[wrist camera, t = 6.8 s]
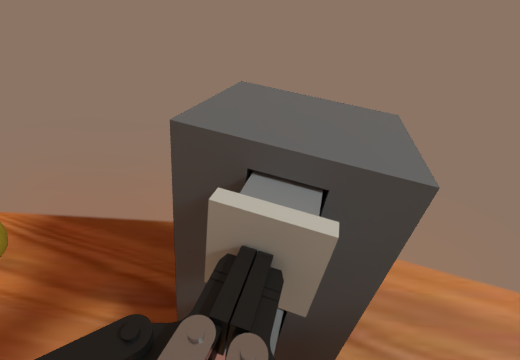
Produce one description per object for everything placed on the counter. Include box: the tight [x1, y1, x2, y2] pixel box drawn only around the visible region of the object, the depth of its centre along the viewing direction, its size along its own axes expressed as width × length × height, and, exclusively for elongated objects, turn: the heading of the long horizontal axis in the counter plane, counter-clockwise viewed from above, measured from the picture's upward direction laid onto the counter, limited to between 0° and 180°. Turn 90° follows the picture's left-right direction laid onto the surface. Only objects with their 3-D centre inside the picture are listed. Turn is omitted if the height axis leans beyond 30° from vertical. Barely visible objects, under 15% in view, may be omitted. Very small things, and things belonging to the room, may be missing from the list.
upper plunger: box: [204, 170, 339, 317], centre depth 16 cm, size 9×6×6 cm, turn 164°
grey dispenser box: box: [170, 81, 439, 360], centre depth 25 cm, size 12×14×24 cm
